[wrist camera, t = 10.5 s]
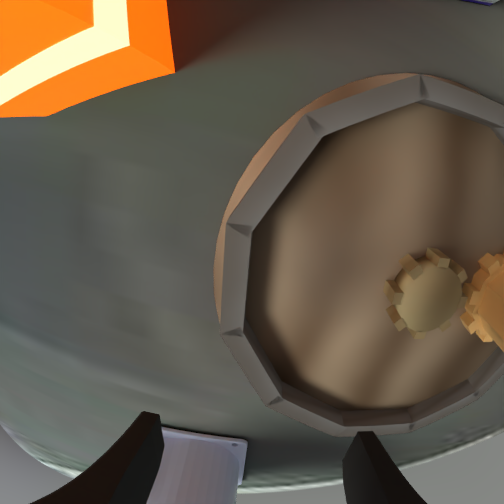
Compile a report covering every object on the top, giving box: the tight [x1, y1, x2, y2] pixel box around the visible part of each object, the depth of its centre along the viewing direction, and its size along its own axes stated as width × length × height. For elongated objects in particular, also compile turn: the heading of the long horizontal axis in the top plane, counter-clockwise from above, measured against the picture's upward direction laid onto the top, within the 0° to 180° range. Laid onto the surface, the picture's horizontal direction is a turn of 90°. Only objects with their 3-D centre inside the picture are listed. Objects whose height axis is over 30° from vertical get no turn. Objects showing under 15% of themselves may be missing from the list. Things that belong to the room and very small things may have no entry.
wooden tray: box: [214, 73, 504, 437], centre depth 17 cm, size 24×24×3 cm
